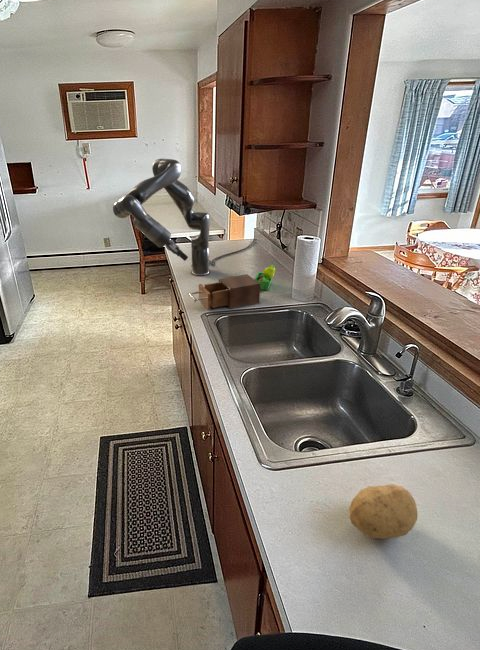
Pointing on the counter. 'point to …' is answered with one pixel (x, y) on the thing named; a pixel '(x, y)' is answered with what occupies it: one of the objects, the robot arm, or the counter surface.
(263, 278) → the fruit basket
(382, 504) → the potato
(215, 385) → the counter surface
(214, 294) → the drawer
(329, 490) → the counter surface
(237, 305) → the cabinet
